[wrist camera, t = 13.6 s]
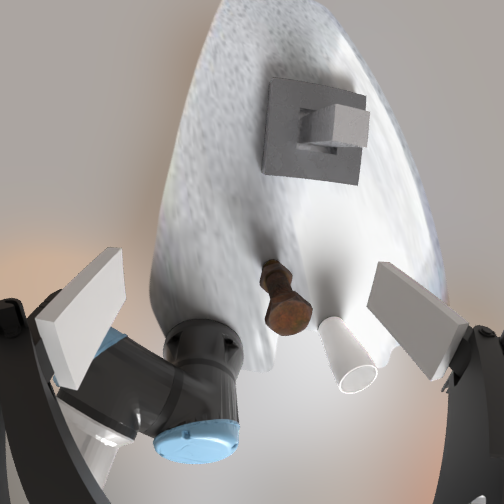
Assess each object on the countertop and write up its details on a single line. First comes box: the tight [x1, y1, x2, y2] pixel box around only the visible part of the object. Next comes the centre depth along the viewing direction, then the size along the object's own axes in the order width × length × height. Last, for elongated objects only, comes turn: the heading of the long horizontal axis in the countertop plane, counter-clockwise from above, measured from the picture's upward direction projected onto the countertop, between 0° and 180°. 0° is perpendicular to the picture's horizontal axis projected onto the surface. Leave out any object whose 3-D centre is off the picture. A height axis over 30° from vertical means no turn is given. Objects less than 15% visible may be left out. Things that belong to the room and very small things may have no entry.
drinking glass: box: [318, 317, 378, 394], centre depth 44 cm, size 7×7×15 cm
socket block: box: [262, 77, 366, 186], centre depth 37 cm, size 14×14×4 cm
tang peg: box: [299, 104, 370, 147], centre depth 32 cm, size 4×4×14 cm
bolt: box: [260, 259, 313, 336], centre depth 39 cm, size 6×5×15 cm
